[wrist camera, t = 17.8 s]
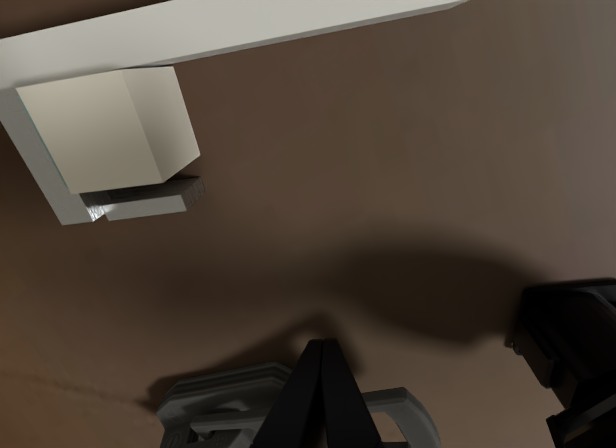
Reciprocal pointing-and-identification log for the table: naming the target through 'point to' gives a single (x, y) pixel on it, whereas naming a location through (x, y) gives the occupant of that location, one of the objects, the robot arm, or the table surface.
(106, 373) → the table surface
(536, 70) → the table surface
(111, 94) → the cream matte cube
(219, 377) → the zipper pull
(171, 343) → the table surface
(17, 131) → the cleat
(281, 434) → the robot arm
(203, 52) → the wall board
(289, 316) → the table surface
